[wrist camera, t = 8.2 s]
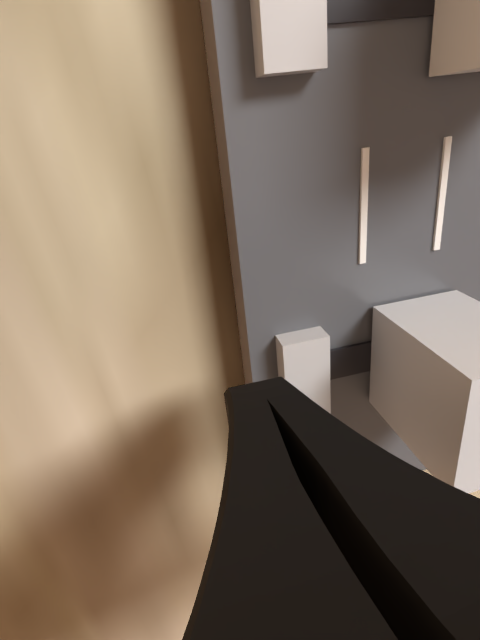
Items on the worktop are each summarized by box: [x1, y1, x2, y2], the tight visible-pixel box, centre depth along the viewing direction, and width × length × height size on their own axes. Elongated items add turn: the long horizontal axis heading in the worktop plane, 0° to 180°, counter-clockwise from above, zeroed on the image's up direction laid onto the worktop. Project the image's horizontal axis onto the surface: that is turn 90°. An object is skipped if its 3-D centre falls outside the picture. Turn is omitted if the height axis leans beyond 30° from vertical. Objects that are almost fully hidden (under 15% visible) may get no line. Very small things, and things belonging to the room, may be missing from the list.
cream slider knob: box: [369, 290, 480, 493], centre depth 10 cm, size 2×3×4 cm
